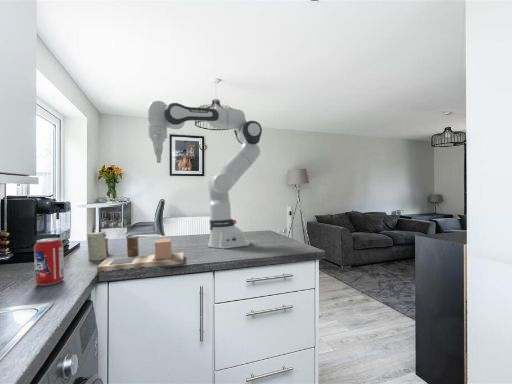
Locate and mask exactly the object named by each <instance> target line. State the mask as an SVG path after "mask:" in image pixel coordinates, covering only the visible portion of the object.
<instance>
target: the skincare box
mask: <svg viewBox="0 0 512 384" xmlns="http://www.w3.org/2000/svg"><path fill="white" fill-rule="evenodd" d="M105 234H106V232H105V231H103V232H101V231H100V232H90V233H87V234H86V237H87V238H86V239H87V253H88V261H102V260H105V259H107V254H106V241H105V238H106V237H105Z"/></svg>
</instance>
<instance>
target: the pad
mask: <svg viewBox="0 0 512 384" xmlns="http://www.w3.org/2000/svg"><path fill="white" fill-rule="evenodd" d="M113 259H114V258H113ZM134 259H135V257H129V258H125V257H117V259H114V260H113V261H112V262H111V263H110V264H109V265H113V264H124V263H132V261H133V260H134Z"/></svg>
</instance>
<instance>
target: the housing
mask: <svg viewBox="0 0 512 384" xmlns="http://www.w3.org/2000/svg"><path fill="white" fill-rule="evenodd" d="M154 252H155V254H154V255H155V260H159V259H170V258H171V255H172V253H173V252H172V238H159V239H156V240H155V242H154Z"/></svg>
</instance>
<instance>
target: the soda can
mask: <svg viewBox="0 0 512 384" xmlns="http://www.w3.org/2000/svg"><path fill="white" fill-rule="evenodd" d="M33 255H34V256H33V257H34V258H33V259H34V260H33V261H34V282H35V283H34V284H35V285H37V286H41V287H47V286H53V285H56V284H59V283H60V282H61V281H63V280H64V279H65V266H64V264H65V263H64V259H65V258H64V242H63V241H62V240H61V238H60V237H50V238H43V239H42V238H41V239H38V240H36V243H35V244H34V245H33Z"/></svg>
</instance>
